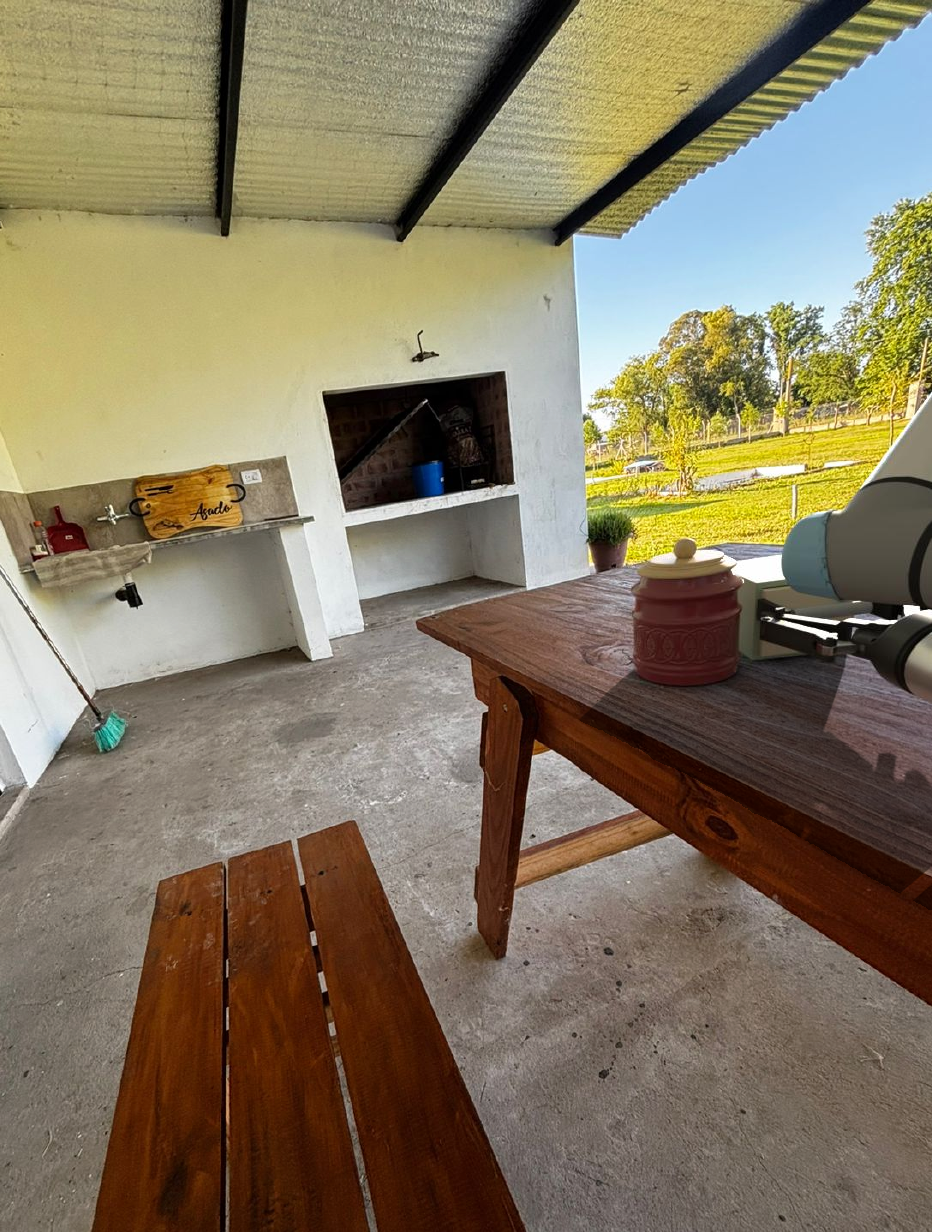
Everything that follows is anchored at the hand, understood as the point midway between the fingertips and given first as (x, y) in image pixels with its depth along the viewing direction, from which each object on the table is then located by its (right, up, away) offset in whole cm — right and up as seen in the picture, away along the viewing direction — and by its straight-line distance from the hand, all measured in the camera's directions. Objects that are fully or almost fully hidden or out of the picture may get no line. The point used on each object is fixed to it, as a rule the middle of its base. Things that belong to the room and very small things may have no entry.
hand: (808, 602), depth 66 cm
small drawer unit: (+2, -4, +10) cm, 11 cm away
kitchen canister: (-13, -8, +6) cm, 16 cm away
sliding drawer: (+2, -5, +6) cm, 8 cm away
